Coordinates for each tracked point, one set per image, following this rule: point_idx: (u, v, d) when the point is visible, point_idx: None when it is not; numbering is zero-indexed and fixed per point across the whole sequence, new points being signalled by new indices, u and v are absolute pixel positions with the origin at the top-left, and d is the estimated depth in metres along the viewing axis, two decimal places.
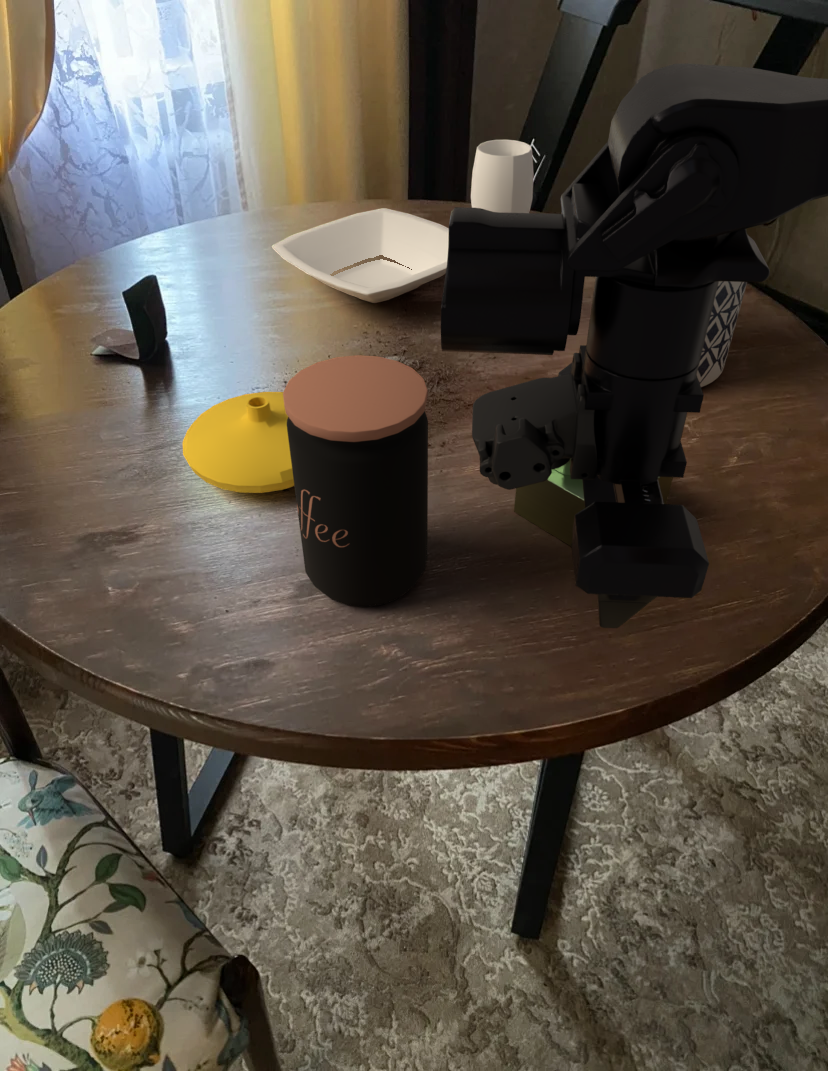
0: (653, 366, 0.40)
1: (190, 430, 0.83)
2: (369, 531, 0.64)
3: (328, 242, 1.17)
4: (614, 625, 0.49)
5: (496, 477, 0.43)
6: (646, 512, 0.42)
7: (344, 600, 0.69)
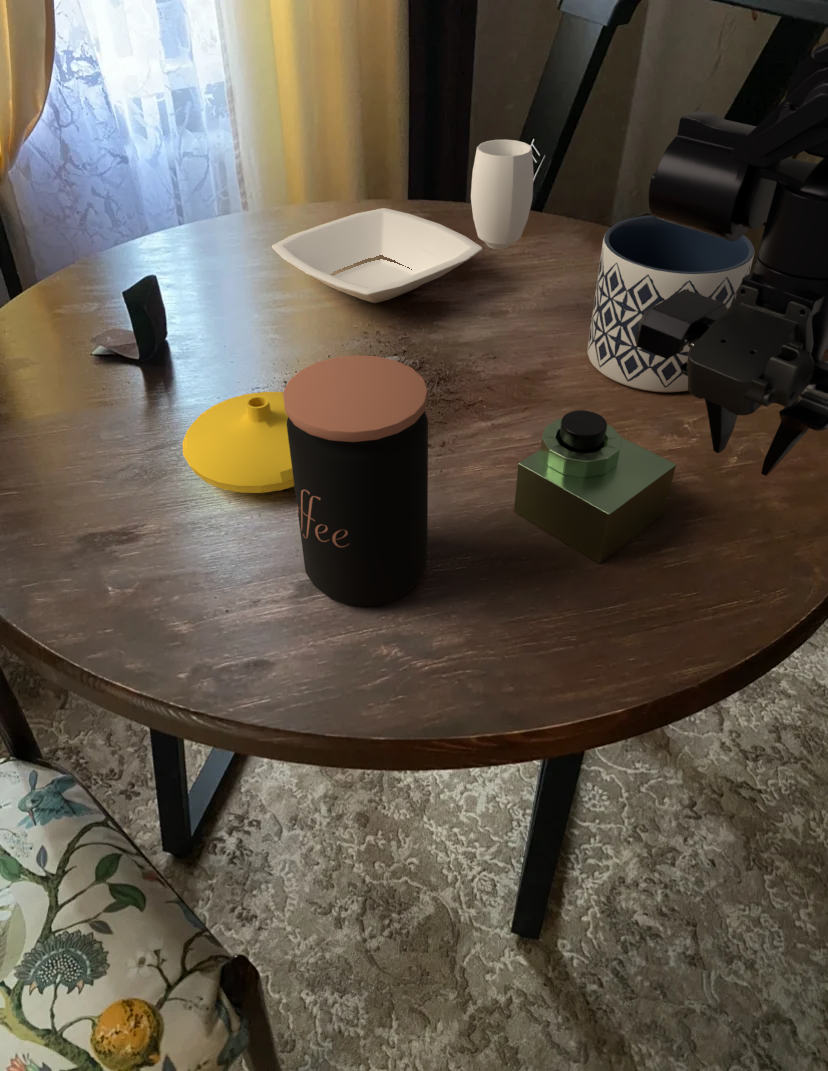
0: (788, 262, 0.51)
1: (190, 430, 0.83)
2: (369, 531, 0.64)
3: (328, 241, 1.17)
4: (773, 468, 0.62)
5: (788, 399, 0.50)
6: None
7: (344, 600, 0.69)
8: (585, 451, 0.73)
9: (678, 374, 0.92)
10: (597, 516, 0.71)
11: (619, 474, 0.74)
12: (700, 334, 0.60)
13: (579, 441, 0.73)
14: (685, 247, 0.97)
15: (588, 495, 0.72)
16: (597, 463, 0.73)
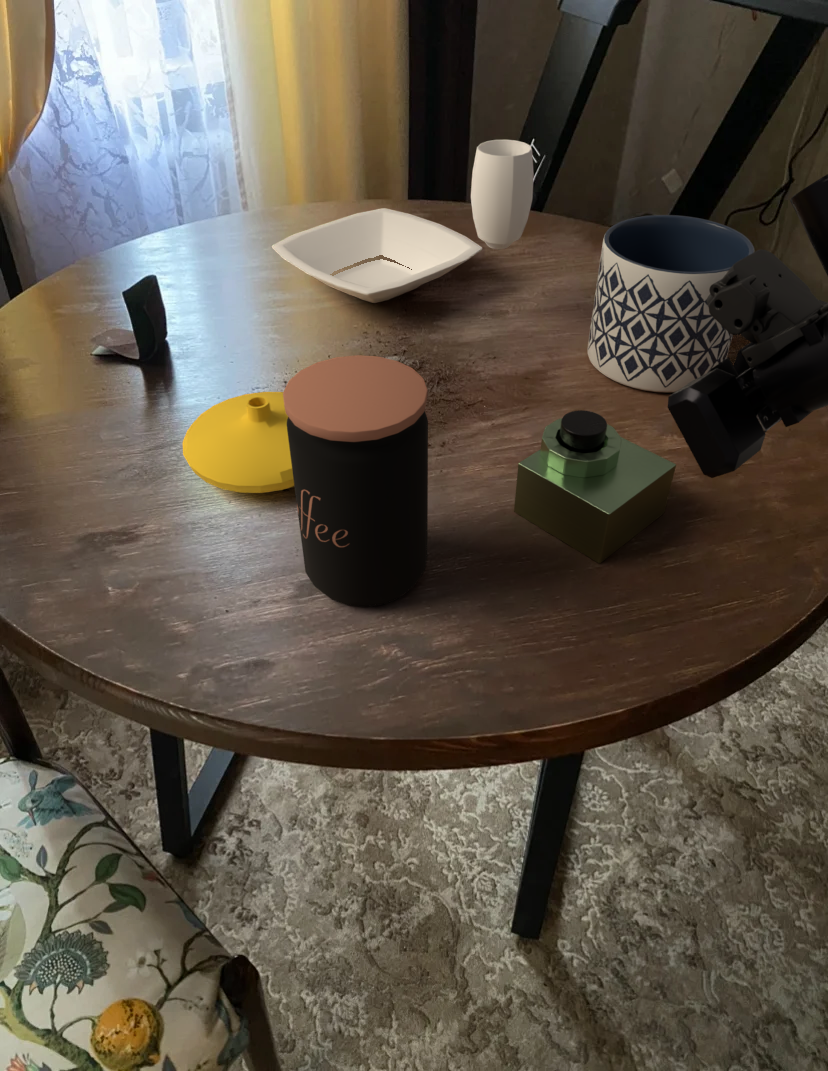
0: None
1: (190, 430, 0.83)
2: (369, 531, 0.64)
3: (328, 241, 1.17)
4: None
5: (714, 298, 0.54)
6: (746, 413, 0.54)
7: (344, 600, 0.69)
8: (585, 451, 0.73)
9: (678, 374, 0.92)
10: (597, 516, 0.71)
11: (619, 474, 0.74)
12: None
13: (579, 441, 0.73)
14: (685, 247, 0.97)
15: (588, 495, 0.72)
16: (597, 463, 0.73)
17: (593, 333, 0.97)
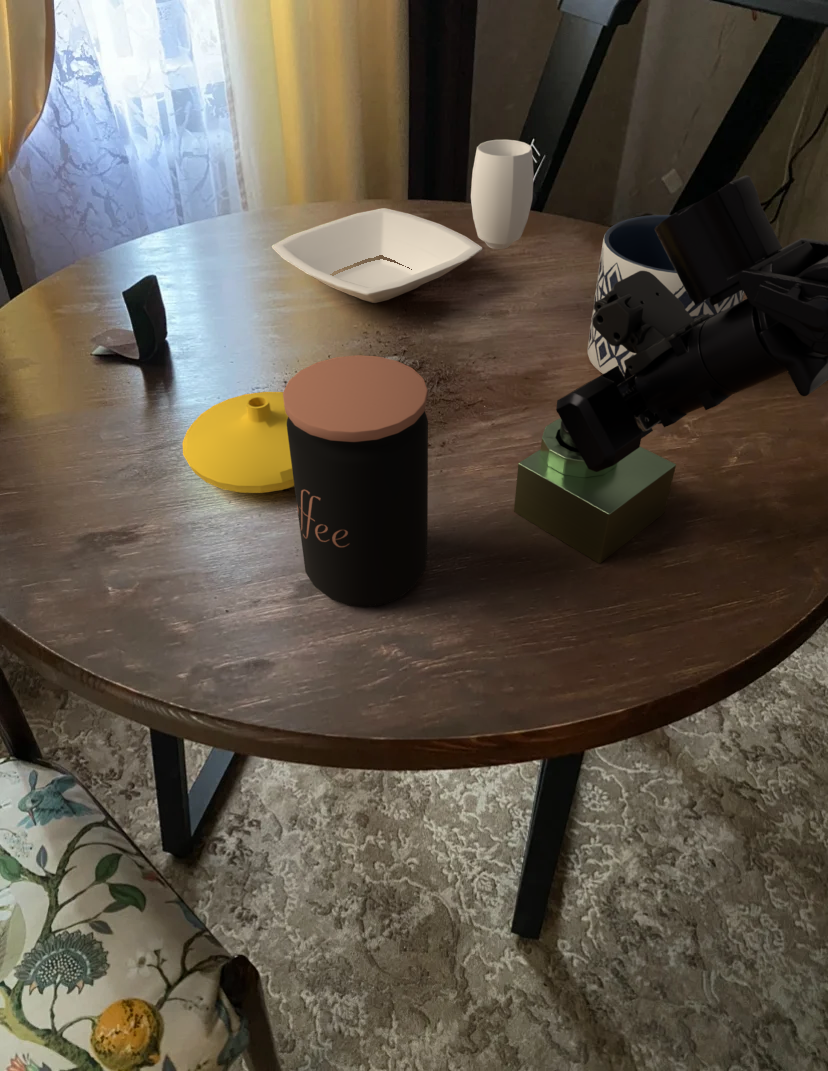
0: (714, 364, 0.58)
1: (190, 430, 0.83)
2: (369, 531, 0.64)
3: (328, 241, 1.17)
4: None
5: (596, 314, 0.62)
6: (624, 415, 0.62)
7: (344, 600, 0.69)
8: None
9: None
10: (597, 516, 0.71)
11: (619, 474, 0.74)
12: None
13: None
14: None
15: (588, 495, 0.72)
16: None
17: (593, 333, 0.97)
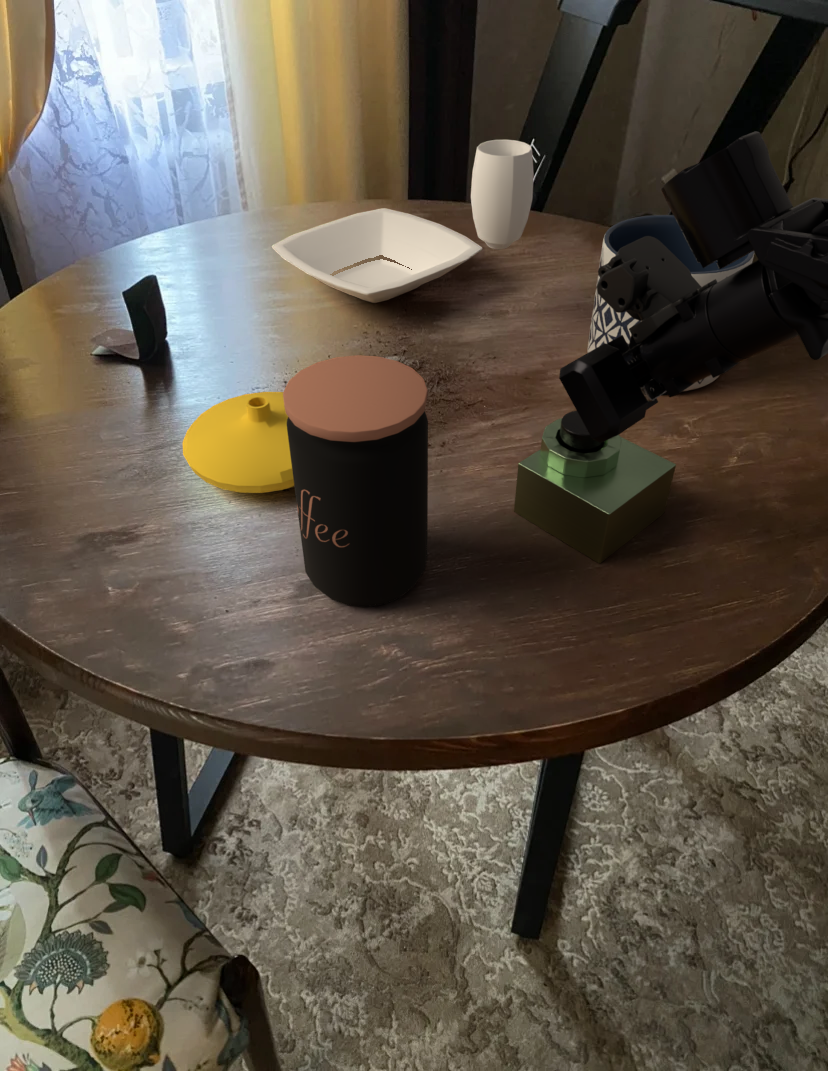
0: (722, 329, 0.57)
1: (190, 430, 0.83)
2: (369, 531, 0.64)
3: (328, 241, 1.17)
4: None
5: (600, 280, 0.60)
6: (629, 383, 0.60)
7: (344, 600, 0.69)
8: (585, 451, 0.73)
9: None
10: (597, 516, 0.71)
11: (619, 474, 0.74)
12: None
13: (579, 441, 0.73)
14: (685, 247, 0.97)
15: (588, 495, 0.72)
16: (597, 463, 0.73)
17: (593, 333, 0.97)
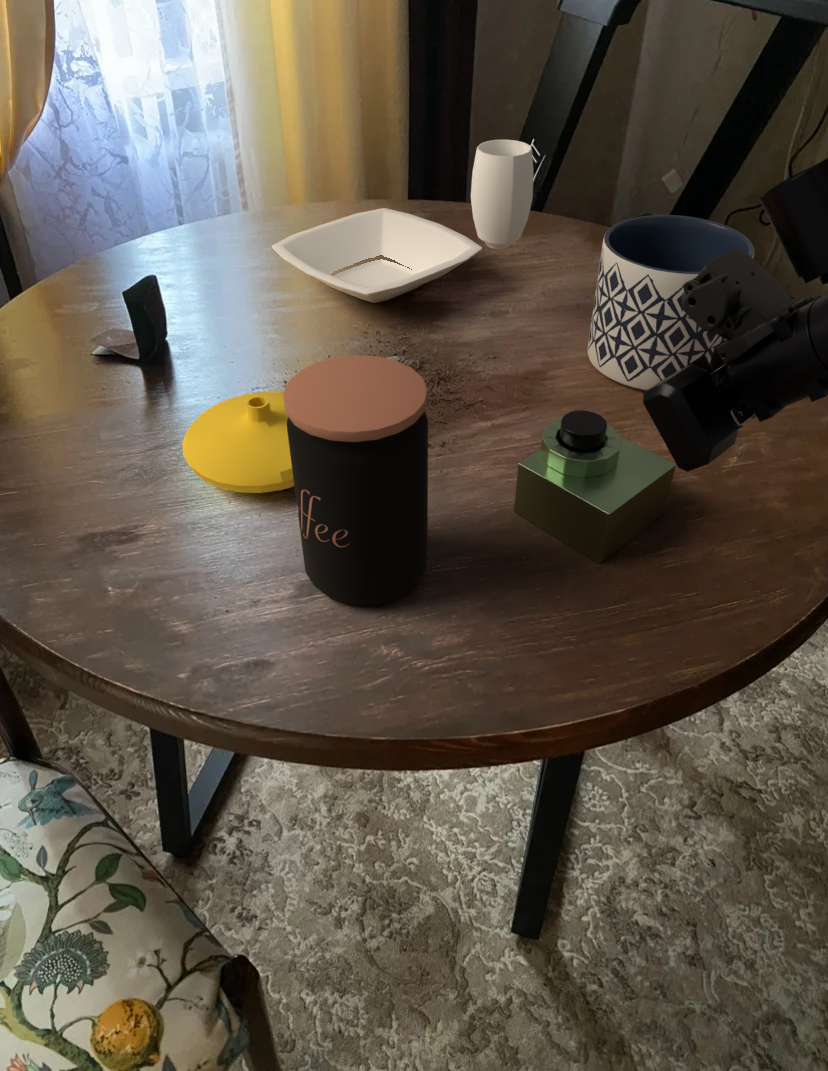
0: (827, 349, 0.52)
1: (190, 430, 0.83)
2: (369, 531, 0.64)
3: (328, 241, 1.17)
4: None
5: (687, 296, 0.56)
6: (720, 407, 0.56)
7: (344, 600, 0.69)
8: (585, 451, 0.73)
9: None
10: (597, 516, 0.71)
11: (619, 474, 0.74)
12: None
13: (579, 441, 0.73)
14: (685, 247, 0.97)
15: (588, 495, 0.72)
16: (597, 463, 0.73)
17: (593, 333, 0.97)
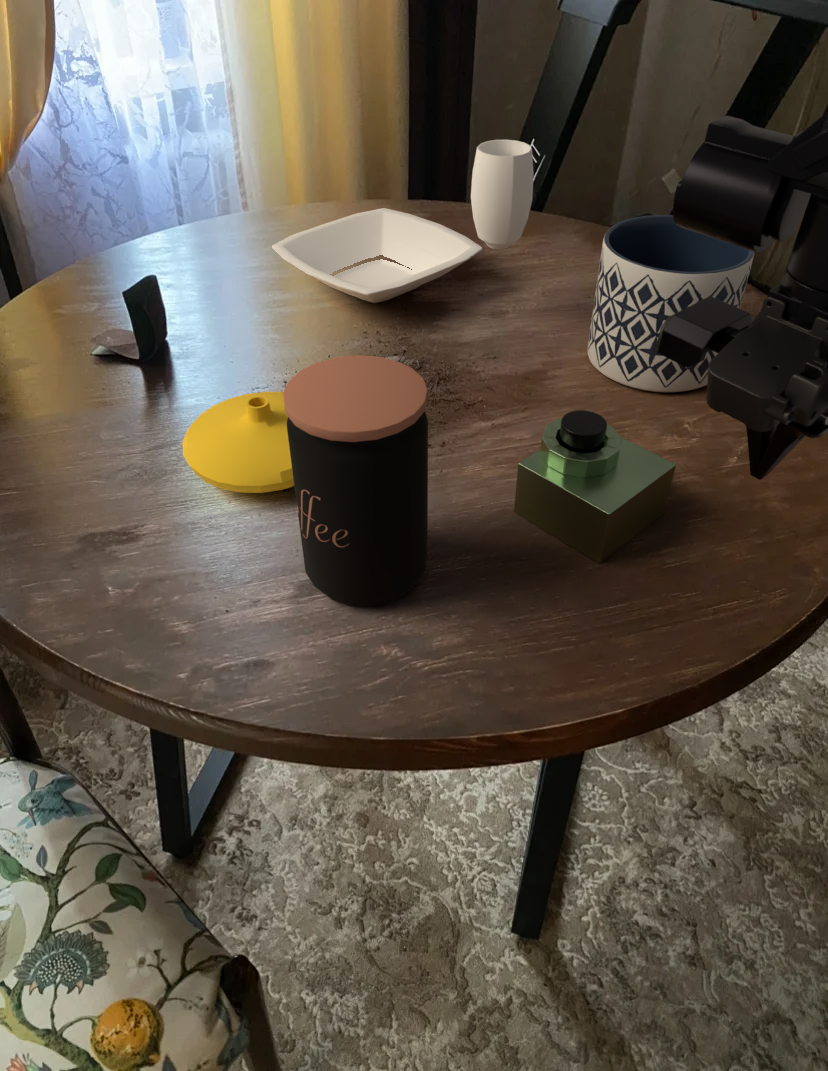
0: (821, 277, 0.49)
1: (190, 430, 0.83)
2: (369, 531, 0.64)
3: (328, 241, 1.17)
4: (768, 473, 0.61)
5: (808, 418, 0.49)
6: None
7: (344, 600, 0.69)
8: (585, 451, 0.73)
9: (678, 374, 0.92)
10: (597, 516, 0.71)
11: (619, 474, 0.74)
12: None
13: (579, 441, 0.73)
14: (685, 247, 0.97)
15: (588, 495, 0.72)
16: (597, 463, 0.73)
17: (593, 333, 0.97)
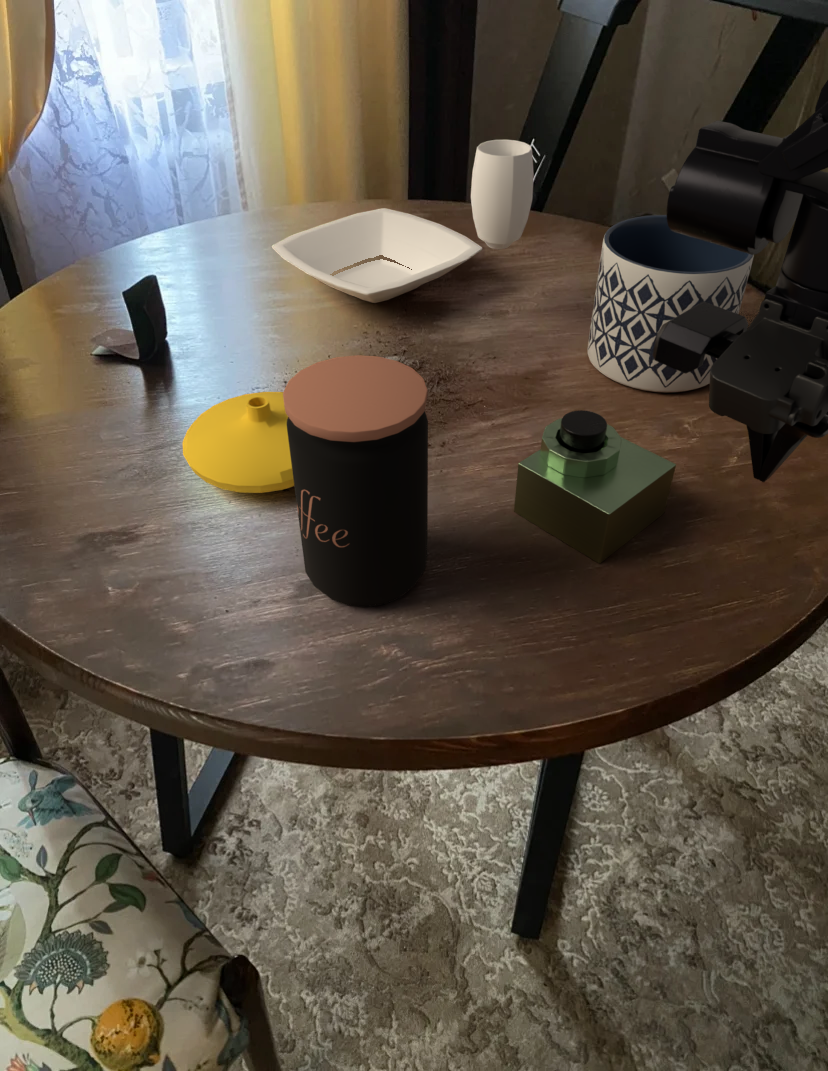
0: (816, 277, 0.49)
1: (190, 430, 0.83)
2: (369, 531, 0.64)
3: (328, 241, 1.17)
4: (771, 475, 0.61)
5: (814, 418, 0.48)
6: None
7: (344, 600, 0.69)
8: (585, 451, 0.73)
9: (678, 374, 0.92)
10: (597, 516, 0.71)
11: (619, 474, 0.74)
12: None
13: (579, 441, 0.73)
14: (685, 247, 0.97)
15: (588, 495, 0.72)
16: (597, 463, 0.73)
17: (593, 333, 0.97)
